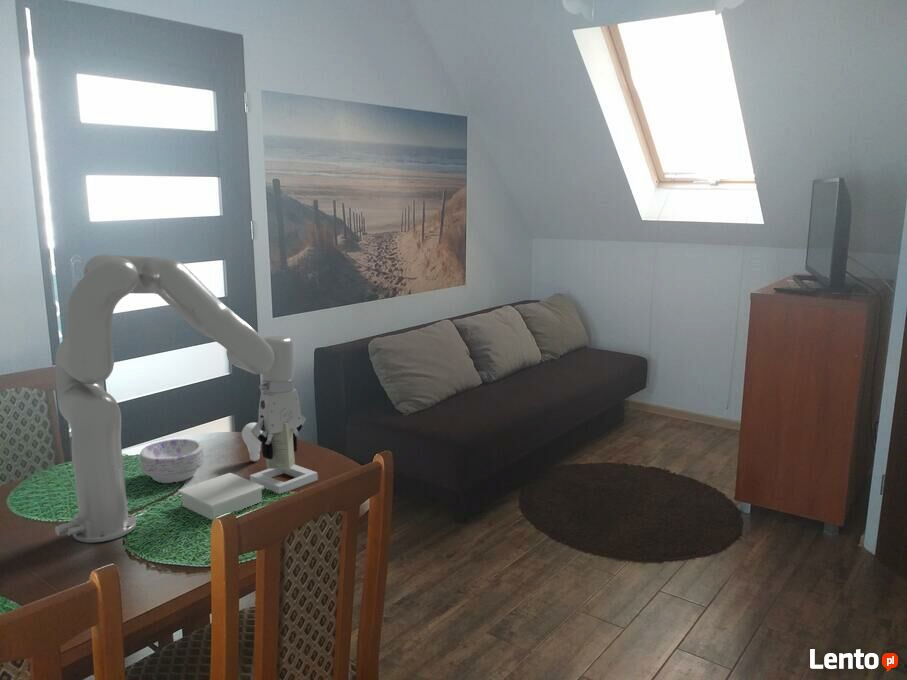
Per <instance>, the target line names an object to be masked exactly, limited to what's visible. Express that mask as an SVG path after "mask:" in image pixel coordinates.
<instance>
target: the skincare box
mask: <svg viewBox="0 0 907 680" xmlns="http://www.w3.org/2000/svg"><path fill="white" fill-rule="evenodd" d="M263 427H265V425H264V426H263ZM267 435H268V433H267ZM266 438H267V436H266ZM270 443H271V444H272V449H273V458H272V459H267V458H265V462H266V469H290V468H291V467H292V466H293V465H294V464H295V465H296V460H295V452H294V443H293V430H292V429H291V430H289V425H288V423H285V424H283V432H280V433H276V434H273V436H272V439H271V442H270Z"/></svg>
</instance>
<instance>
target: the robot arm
mask: <svg viewBox="0 0 907 680" xmlns="http://www.w3.org/2000/svg"><path fill="white" fill-rule="evenodd" d="M129 294H156V295H158V296H159V297H160V298H162V300H163V301H165V302H166V304H167V305H169V306H170V307H171V308H172V309H173V310H174V311H175V312H177V314H179V315H180V316H181V317H182V318H183V319H184V321H186V322H187V323H188V324H189V325H190V326H191V327H192V328H193V329H195V330H196V331H197V332H199V333H201V334H202V335H204V336H205V337H207V338H209V339H212V340H213V341H214V342H216V343H218V344H219V345H220V346H222V347H223V348H224V349H226V357H227V360H228V361H229V363H230V364H231V365H233V366H235V367H236V368H239V369H241V370H245V371H246V372H249V373H251V374H254V375H262V384H259V390H260V391H262V392H260V398H259V404H258V421H257V422H256V423H257V424H256V425H255V426H254V428H253V429H252V430H251V433H252V434H253V435H254V436H256V438H257V439H258V440H259V441H260V442H262V443H261V447H262V448H261V453H262V457H263V458H264V459H266V458H267V459H272V458H273V449H272V444H271V443H270V442H271V439H272V436H273V434H276V433H280V432H283V424H285V423H288V425H289V430H291V429H292V430H293V443H294V453H296V452H298V442H297V441H298V440H297V439H298V436H299V435H300V431H301V429H302V427H303V425H305V422H306V419H307V418H306V417H305V416H304V415H303V414H301V406H300V399H299V398H300V397H299V395H298V391H297V389H296V388H295V387H294V384H295V383H294V381H295V380H294V377H295V376H294V343H293V340H292V338H291V337H289V336H285V335H271V336H266V337H262V336H261V335H260V334H259V333H258V332H257V331H256V330H255V329H254V328H253V327H252V326H251V325H249V324H248V322H246V321H245V320H244V319H242V318H241V317H240V316H239V315H238V314H236V313H235V312H234V311H233V310H231V308H229V306H227V305H225V304H224V303H223V302H222V301H221V300H220V299H219V298H218V297H217V296H216V295H215V294H214V293H213V292H212V291H211V290H210V289H209V288H208V287H207V286H206V285H205V284H204V283H203V282H202V281H201V280H200V279H199V278H198V277H197V276H196V275H195V274H194V273H193V272H192V271H191V270H190V269H189V268H188V267H187V266H186V265H184V263H182V262H180V261H178V260H176V259H174V258H168V257H161V256H136V255H135V256H133V255H119V254H118V255H116V254H99V255H95V256H93V257H91V258H90V259H89V260H88V261H87V262H86V264H85V265H84V268H83V277H81V278H80V280H79V281H78V282H77V283H76V284H75V286H74V288H73V289H72V291H71V293H70V295H69V297H68V300H67V304H66V305H67V306H66V333H65V334H66V337H65V338H64V339H63V340H61V342H60V343H59V345H58V346H57V349H56V352H55V358H54V359H55V361H54V365H55V382H56V383H55V385H56V386H55V387H56V397H57V398H56V399H57V407H58V411H59V412H60V415H61V416H62V417H63V418H64V419H65V420H66V422H67V423H68V424H69V425H70V431H71V432H70V433H71V459H72V466H73V474H74V482H75V483H74V484H75V491H76V500H77V509H78V513H75V514H73V519H71V520H70V521H69V522H67V523H62V524H59V525H57V526H55V528H54V531H55V534H56V535H57V536H61V535H63V534H67V535H68V536H69V537H70V536H72V537H73V539H74V540H76V541H78V542H82V543H90V544H91V543H101V542H107V541H113V540H115V539H118V538H121V537H124V536H126V535H128V534H129V533H131V532H132V531H133V530H135V528H136V527H137V518H136V517H135V516H134V515H132V514H130V513H129V509H128V500H127V490H126V481H125V480H126V479H125V468H124V460H123V451H122V450H123V449H122V412H121V408H120V406H119V404H118V402H117V400H116V399H115V398H114V397H113V395H111V394H110V393H109V392H107V391H106V390H105V381H106V380H107V379H108V378H109V377H110V376H111V374H112V372H113V370H114V366H115V358H114V357H115V356H114V343H113V314H114V311H115V309H116V306H117V305H118V303H119V302H120V301H121V300H122V299H123V298H124V297H126V296H128V295H129ZM264 425H265V427H263V426H264ZM260 430H261V431H263V432H262V434H261V433H260ZM267 433H268V435H267ZM266 436H267V438H266Z"/></svg>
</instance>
